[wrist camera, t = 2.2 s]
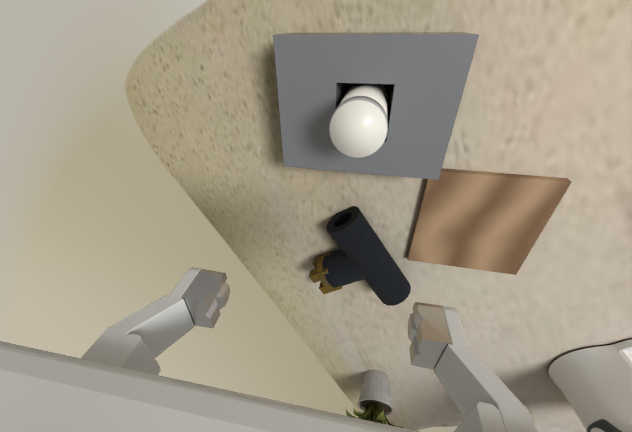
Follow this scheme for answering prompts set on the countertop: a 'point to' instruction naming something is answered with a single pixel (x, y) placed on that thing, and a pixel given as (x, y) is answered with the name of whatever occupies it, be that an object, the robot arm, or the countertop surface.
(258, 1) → the countertop surface
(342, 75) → the socket block
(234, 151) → the countertop surface
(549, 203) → the pad
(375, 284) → the pipe connector
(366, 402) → the house plant
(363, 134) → the plug
